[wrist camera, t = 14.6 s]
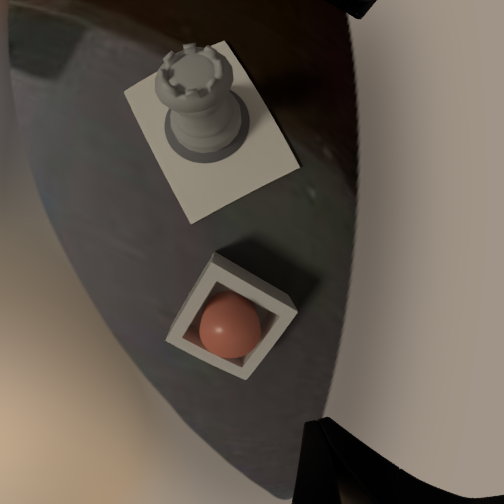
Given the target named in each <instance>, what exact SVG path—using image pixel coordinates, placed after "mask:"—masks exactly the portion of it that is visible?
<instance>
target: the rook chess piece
mask: <svg viewBox="0 0 504 504" xmlns="http://www.w3.org/2000/svg"><path fill="white" fill-rule="evenodd" d="M183 47H184V50H182V51H180V52H178V53H176V54H175V53H174V52H173V51H170V52H169V53H168V54H167V55H166V56H165V57H164V58H163V60H164V63H163V64H162V65H161V66H160V68H159V69H158V73H157V75H156V78H155V92H156V94H157V96H158V98H159V100H160V101H161V103H162V104H164V105H165V106H167V107H168V108H170V109H171V110H172V111H171V114H170V120H171V129H172V130H173V133H174V134H175V136H176V138H177V140H178V142H179V143H181V144H182V145H183V146H185V147H186V148H187V149H189V150H192V151H196V152H200V153H207V152H215V151H218V150H220V149H222V148H223V147H225V146H227V145H229V144H230V143H231V142H232V140H233V139H234V138H235V137H236V136H237V135H238V132H239V129H240V126H241V123H242V120H241V111H240V105H239V104H238V102H237V100H236V99H235V97H234V96H233V94H232V93H230V92H229V91H230V88H231V86H232V83H233V80H234V78H233V69H232V66H231V64H230V63H229V61H228V60H227V58H226V57H225V56H224V55H222V54H220V53H219V52H217V50H216V49H214V48H212V47H211V46H209V45H207V46H206V47H205V48H202V47H196V43H191V44H185V45H183Z"/></svg>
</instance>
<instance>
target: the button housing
mask: <svg viewBox="0 0 504 504" xmlns="http://www.w3.org/2000/svg"><path fill="white" fill-rule="evenodd" d="M224 291H235V292H237V293H239V294H241V295H242V296H244V297H246V298H248V299H249V300H251V301H252V302H253V303H254V305H255V307H256V311H257V315H258V319H259V323H260V328H261V336H260V340H259V342H258V344H257V345H256V347H255V348H254V349H253V350H252V351H251V352H249V353H248V354H246V355H244V356H241V357H238V358H223V357H220V356H217V355H215V354H213V353H211V352H210V351H209V350H208V349H207V348H206V347H205V346H204V345H203V343H202V341H201V338H200V333H199V330H200V324H201V319H202V315H203V310H204V307H205V305H206V303H207V302H208V300H209V299H210V298H211V297H212V296H214V295H216V294H218V293H220V292H224ZM297 313H298V311H297V309H296V307H295V305H294V304H293V302H292V300H291V299H290V297H289V295H288V294H286V293H284V292H283V291H281V290H279V289H277V288H276V287H274V286H272V285H271V284H269V283H267V282H265V281H264V280H262V279H260V278H259V277H257V276H255V275H253V274H252V273H250V272H248V271H247V270H245V269H243V268H242V267H240V266H238V265H237V264H235V263H233V262H231V261H230V260H228V259H226V258H225V257H223V256H221V255H220V254H218V253H216V252H214V253H213V255H212V257H211V258H210V260H209V261H208V263H207V265H206V266H205V268H204V270H203V271H202V273H201V275H200V276H199V278H198V280H197V282H196V283H195V285H194V287H193V288H192V290H191V292H190V293H189V295H188V297H187V299H186V300H185V302H184V304H183V305H182V307H181V309H180V311H179V312H178V314H177V316H176V318H175V319H174V321H173V324H172V326H171V328H170V331H169V333H168V335H167V338H166V340H165V341H167V342H169V343H171V344H173V345H174V346H176V347H178V348H180V349H182V350H184V351H186V352H188V353H189V354H191V355H193V356H195V357H197V358H199V359H201V360H203V361H205V362H207V363H209V364H212V365H214V366H216V367H218V368H220V369H222V370H224V371H226V372H229V373H231V374H233V375H235V376H238V377H240V378H242V379H244V380H247V378H248V377H249V376H250V375H251V374H252V372H253V371H254V370H255V368H256V367H257V366H258V365H259V363H260V362H261V361H262V360H263V358H264V357H265V356H266V354H267V353H268V352H269V351H270V349H271V348H272V347H273V345H274V344H275V343H276V341H277V340H278V339H279V337H280V336H281V335H282V333H283V332H284V331H285V329H286V328H287V326H288V325H289V324H290V322H291V321H292V320H293V318H294V317H295V315H296V314H297Z"/></svg>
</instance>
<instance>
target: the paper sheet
mask: <svg viewBox="0 0 504 504" xmlns="http://www.w3.org/2000/svg"><path fill="white" fill-rule="evenodd" d="M211 47H212V48H214V49H216V50H217V52H219V53H220V54H222V55H224V56H225V57H226V58H227V60H228V61H229V63H230V64H231V66H232V69H233V78H234V80H233V83H232V86H231V88H230V91H229V92H230V93H232V94H233V96H234V97H235V99H236V100H237V102H238V104H239V105H240V111H241V120H242V123H241V126H240V129H239V132H238V135H237V136H236V137H235V138H234V139H233V140H232V142H231V143H230V144H229V145H227V146H225V147H223V148H222V149H220V150H218V151H215V152H207V153H200V152H196V151H192V150H189V149H187V148H186V147H185V146H183V145H182V144H181V143H179V142H178V140H177V138H176V136H175V134H174V133H173V130H172V129H171V120H170V114H171V111H172V110H171V109H170V108H168V107H167V106H165V105H164V104H162V103H161V101H160V100H159V98H158V96H157V94H156V92H155V78H156V75H157V73H158V72H156V73H154V74H152V75H151V76H149V77H147V78H145V79H144V80H142V81H140V82H139V83H137V84H135V85H134V86H132V87H130V88H129V89H127V90H126V91H124V94H125V96H126V98H127V100H128V102H129V104H130V106H131V109H132V111H133V113H134V115H135V117H136V119H137V121H138V123H139V125H140V127H141V129H142V131H143V133H144V135H145V137H146V139H147V141H148V143H149V145H150V147H151V149H152V151H153V153H154V155H155V157H156V159H157V161H158V163H159V165H160V167H161V169H162V171H163V173H164V175H165V177H166V178H167V180H168V182H169V184H170V186H171V188H172V190H173V192H174V194H175V195H176V197H177V199H178V201H179V203H180V205H181V207H182V209H183V210H184V212H185V214H186V216H187V218H188V220H189V221H190V223H191V224H193V223H195V222H196V221H198V220H200V219H202V218H204V217H205V216H207V215H209V214H211V213H213V212H214V211H216V210H218V209H220V208H222V207H224V206H226V205H227V204H229V203H231V202H233V201H235V200H237V199H239V198H241V197H242V196H244V195H246V194H248V193H250V192H252V191H254V190H256V189H258V188H260V187H262V186H264V185H266V184H268V183H270V182H272V181H274V180H276V179H278V178H280V177H282V176H284V175H286V174H288V173H290V172H292V171H294V170H296V169H298V168H300V167H299V165H298V163H297V161H296V159H295V157H294V155H293V153H292V151H291V149H290V148H289V146H288V144H287V142H286V140H285V138H284V136H283V135H282V133H281V131H280V129H279V127H278V126H277V124H276V122H275V120H274V119H273V117H272V115H271V113H270V112H269V110H268V108H267V107H266V105H265V103H264V101H263V100H262V98H261V96H260V95H259V93H258V91H257V90H256V88H255V87H254V85H253V83H252V82H251V80H250V79H249V77H248V75H247V74H246V72H245V71H244V69H243V68H242V66H241V64H240V63H239V61H238V60H237V58H236V57H235V55H234V54H233V52H232V51H231V49H230V48H229V46H228V45H227V44H226V42H225V41H222V42H220V43H217V44H215V45H212V46H211Z"/></svg>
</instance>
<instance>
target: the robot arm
mask: <svg viewBox="0 0 504 504" xmlns="http://www.w3.org/2000/svg"><path fill="white" fill-rule="evenodd" d="M326 1H328V2H330V3H332V4H333V5H335V6H337V7H338V8H340V9H342V10H343V11H345V12H347V13H348V14H350V15H351V16H353V17H354V18H356V19H361V18H362V17H363V16H364V15H365V14H366V13H367V11H368V10H369V9H370V8H371V7H372V5H373V4H374V3H375V2H376V1H377V0H326ZM356 13H357V14H356ZM292 504H504V495H499V496H492V497H484V498H466V497H462V496H458V495H456V494H453V493H450V492H447V491H445V490H442V489H440V488H437V487H434V486H432V485H430V484H427V483H425V482H423V481H421V480H419V479H417V478H416V477H414V476H412V475H410V474H408V473H407V472H405V471H404V470H403V469H399V467H398V466H396V465H395V464H393V463H392V462H390V461H389V460H387V459H386V458H384V457H382V456H381V455H380V454H378V453H377V452H376V451H374V450H373V449H371V448H370V447H369V446H367V445H366V444H364V443H363V442H361V441H360V440H359V439H357V438H356V437H355V436H353V435H352V434H351V433H349V432H348V431H347V430H345V429H344V428H343V427H341V426H340V425H339V424H337V423H336V422H335V421H334V420H332V419H331V418H330V417H325V418H321V419H318V420H317V421H316V420H313V421H309V422H305V423H304V429H303V437H302V444H301V451H300V458H299V465H298V471H297V477H296V483H295V488H294V494H293V499H292Z"/></svg>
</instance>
